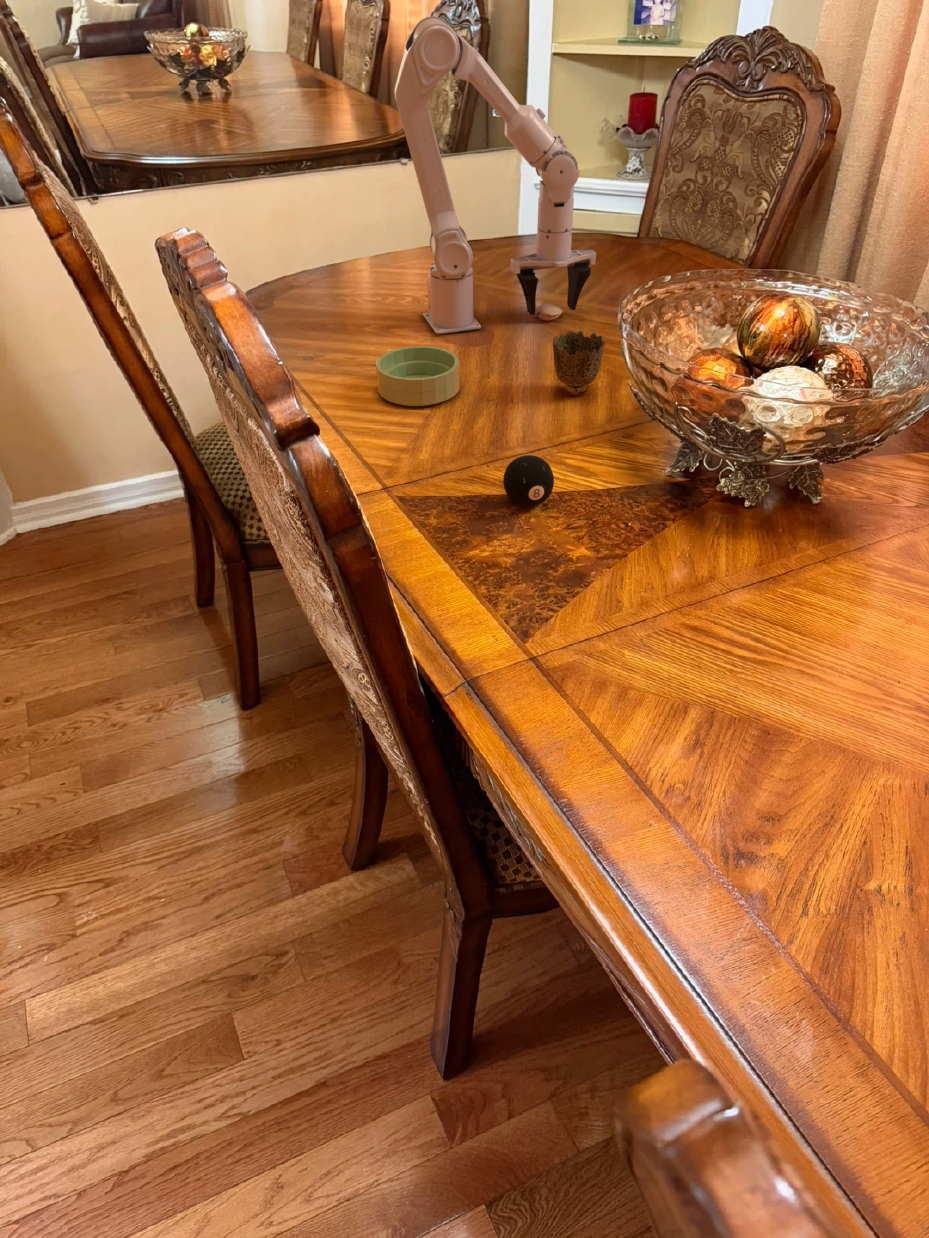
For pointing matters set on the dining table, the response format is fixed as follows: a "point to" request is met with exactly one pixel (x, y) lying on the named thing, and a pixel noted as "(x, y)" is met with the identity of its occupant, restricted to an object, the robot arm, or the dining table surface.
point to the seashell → (549, 311)
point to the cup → (577, 360)
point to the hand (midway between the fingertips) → (551, 310)
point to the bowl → (418, 375)
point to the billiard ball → (528, 480)
